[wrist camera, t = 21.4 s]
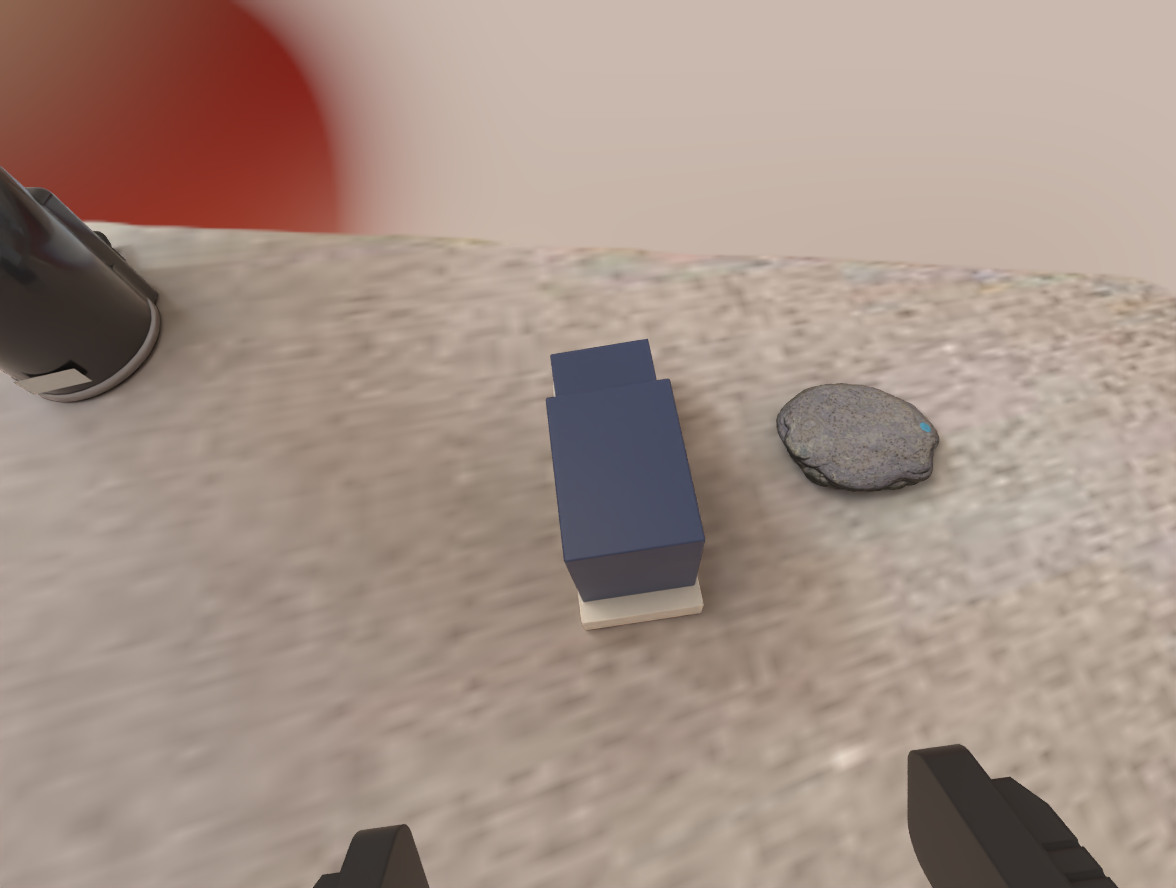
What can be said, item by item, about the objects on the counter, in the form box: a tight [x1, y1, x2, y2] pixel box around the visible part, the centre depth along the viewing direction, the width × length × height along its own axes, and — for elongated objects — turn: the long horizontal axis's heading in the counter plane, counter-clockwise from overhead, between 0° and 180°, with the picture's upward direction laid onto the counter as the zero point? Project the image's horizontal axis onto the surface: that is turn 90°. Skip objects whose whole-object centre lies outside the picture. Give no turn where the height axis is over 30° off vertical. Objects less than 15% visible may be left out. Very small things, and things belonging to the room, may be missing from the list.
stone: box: [777, 383, 939, 491], centre depth 35 cm, size 7×8×2 cm
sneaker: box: [546, 339, 705, 630], centre depth 31 cm, size 14×6×9 cm, turn 7°
